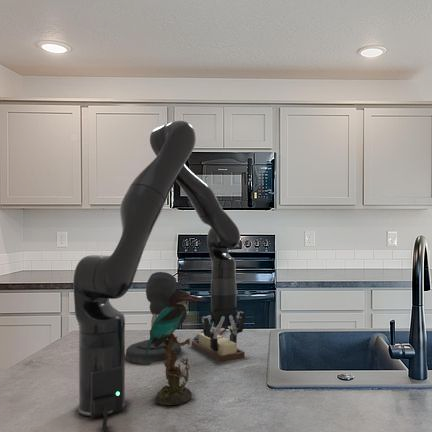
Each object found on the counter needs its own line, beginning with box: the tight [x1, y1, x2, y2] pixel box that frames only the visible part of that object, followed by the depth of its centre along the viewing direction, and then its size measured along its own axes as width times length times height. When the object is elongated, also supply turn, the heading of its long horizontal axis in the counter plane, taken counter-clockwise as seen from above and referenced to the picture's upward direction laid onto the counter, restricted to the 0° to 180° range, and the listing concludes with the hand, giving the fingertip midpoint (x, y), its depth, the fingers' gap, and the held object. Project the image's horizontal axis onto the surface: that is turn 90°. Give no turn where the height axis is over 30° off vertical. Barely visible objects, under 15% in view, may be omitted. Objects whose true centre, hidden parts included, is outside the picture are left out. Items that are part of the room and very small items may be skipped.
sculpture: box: [143, 289, 205, 406], centre depth 103 cm, size 8×14×25 cm, turn 86°
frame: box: [191, 340, 246, 363], centre depth 137 cm, size 20×8×2 cm, turn 35°
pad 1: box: [198, 332, 224, 350], centre depth 141 cm, size 8×4×4 cm, turn 35°
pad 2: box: [211, 337, 238, 356], centre depth 134 cm, size 8×4×4 cm, turn 35°
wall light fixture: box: [125, 271, 182, 365], centre depth 138 cm, size 16×25×20 cm
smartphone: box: [193, 327, 227, 341], centre depth 157 cm, size 8×1×15 cm
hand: (223, 348), depth 134 cm, fingers open, 5 cm apart
